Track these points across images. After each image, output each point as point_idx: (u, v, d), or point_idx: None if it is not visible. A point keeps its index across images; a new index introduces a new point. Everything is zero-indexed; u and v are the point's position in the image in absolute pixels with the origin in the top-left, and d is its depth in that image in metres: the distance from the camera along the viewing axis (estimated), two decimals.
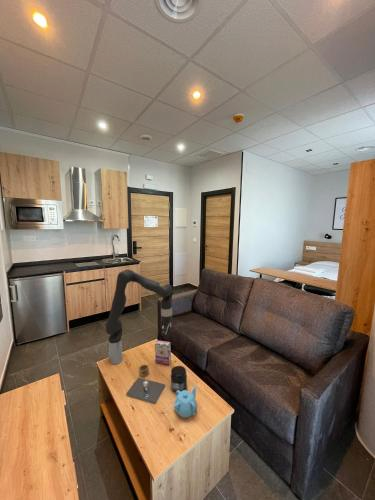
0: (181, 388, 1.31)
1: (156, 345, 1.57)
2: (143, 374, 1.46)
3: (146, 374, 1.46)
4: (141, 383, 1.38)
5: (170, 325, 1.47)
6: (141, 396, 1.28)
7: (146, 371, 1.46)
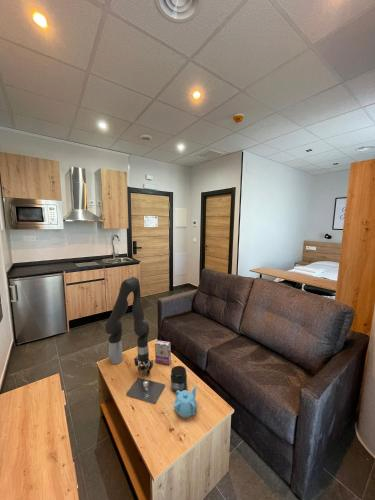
0: (181, 388, 1.31)
1: (156, 345, 1.57)
2: (143, 374, 1.46)
3: (146, 374, 1.46)
4: (141, 383, 1.38)
5: None
6: (141, 396, 1.28)
7: (146, 371, 1.46)
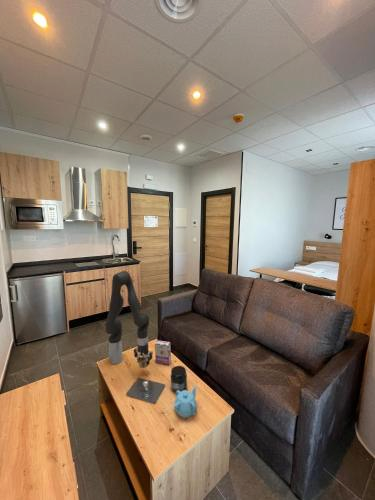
0: (181, 388, 1.31)
1: (156, 345, 1.57)
2: (142, 365, 1.45)
3: (145, 365, 1.46)
4: (141, 383, 1.38)
5: None
6: (141, 396, 1.28)
7: (146, 362, 1.46)
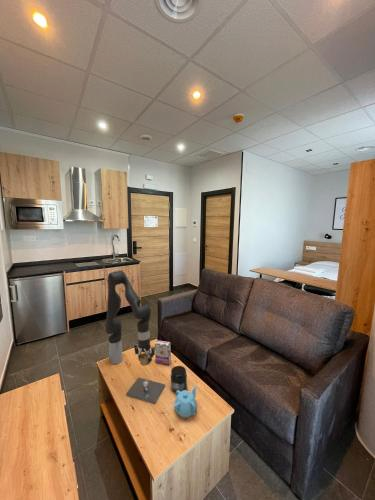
0: (181, 388, 1.31)
1: (156, 345, 1.57)
2: (144, 362, 1.31)
3: (147, 362, 1.32)
4: (141, 383, 1.38)
5: None
6: (141, 396, 1.28)
7: (147, 359, 1.32)
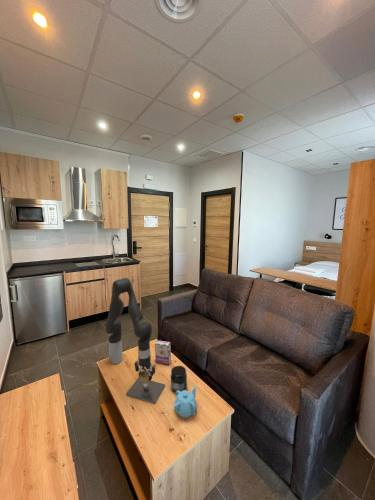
0: (181, 388, 1.31)
1: (156, 345, 1.57)
2: (144, 380, 1.29)
3: (148, 380, 1.30)
4: (141, 383, 1.38)
5: None
6: (141, 396, 1.28)
7: (148, 377, 1.30)
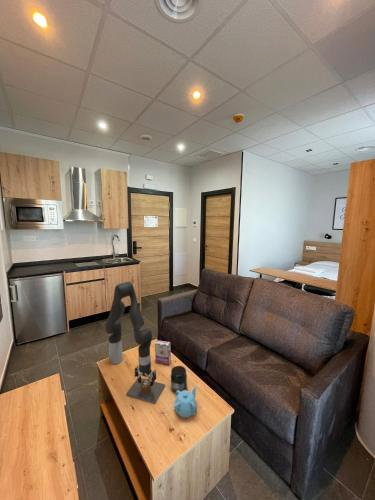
0: (181, 388, 1.31)
1: (156, 345, 1.57)
2: (145, 389, 1.30)
3: (148, 389, 1.31)
4: None
5: None
6: (141, 396, 1.28)
7: (148, 386, 1.31)
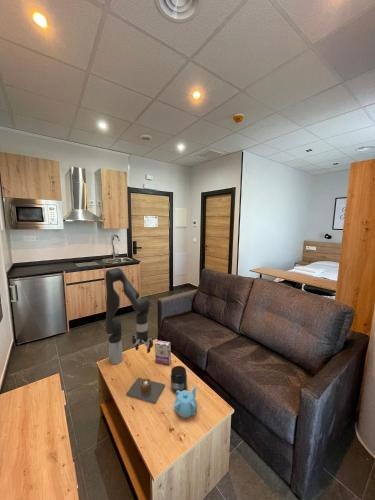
0: (181, 388, 1.31)
1: (156, 345, 1.57)
2: (145, 389, 1.30)
3: (148, 389, 1.31)
4: None
5: None
6: (141, 396, 1.28)
7: (148, 386, 1.31)
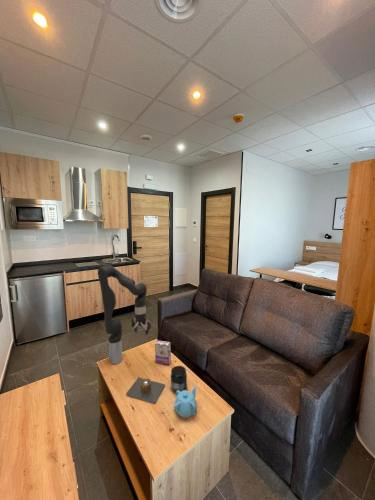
0: (181, 388, 1.31)
1: (156, 345, 1.57)
2: (145, 389, 1.30)
3: (148, 389, 1.31)
4: None
5: None
6: (141, 396, 1.28)
7: (148, 386, 1.31)
